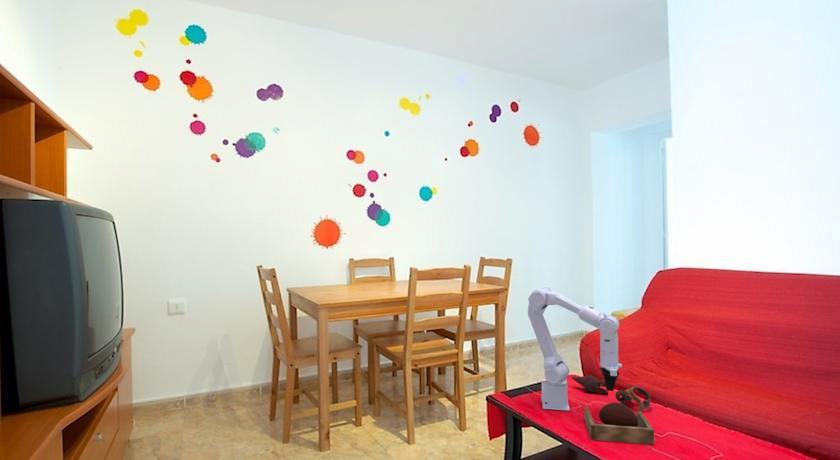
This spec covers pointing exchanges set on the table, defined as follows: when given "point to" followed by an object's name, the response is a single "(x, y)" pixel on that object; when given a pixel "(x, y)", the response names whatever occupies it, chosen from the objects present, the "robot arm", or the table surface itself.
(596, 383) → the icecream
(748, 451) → the table surface
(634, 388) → the brown looped piece
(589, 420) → the box
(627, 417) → the potato
